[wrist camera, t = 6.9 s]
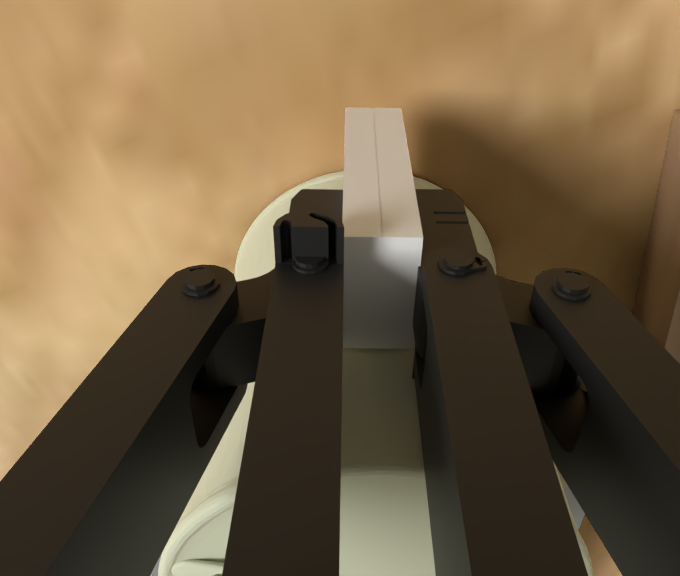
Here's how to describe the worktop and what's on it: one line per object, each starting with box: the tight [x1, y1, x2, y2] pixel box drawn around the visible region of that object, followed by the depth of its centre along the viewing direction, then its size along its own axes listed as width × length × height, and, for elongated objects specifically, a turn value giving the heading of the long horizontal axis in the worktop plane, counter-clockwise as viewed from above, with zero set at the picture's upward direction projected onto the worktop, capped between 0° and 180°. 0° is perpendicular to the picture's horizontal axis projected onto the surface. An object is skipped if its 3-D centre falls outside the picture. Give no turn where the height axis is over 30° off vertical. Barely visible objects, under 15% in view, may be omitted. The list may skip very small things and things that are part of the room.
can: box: [158, 171, 593, 576], centre depth 18 cm, size 9×9×12 cm
